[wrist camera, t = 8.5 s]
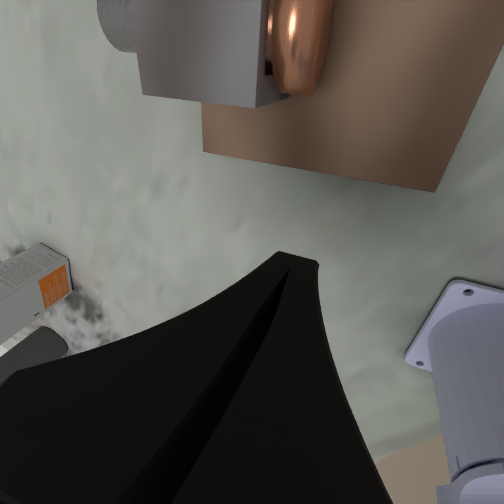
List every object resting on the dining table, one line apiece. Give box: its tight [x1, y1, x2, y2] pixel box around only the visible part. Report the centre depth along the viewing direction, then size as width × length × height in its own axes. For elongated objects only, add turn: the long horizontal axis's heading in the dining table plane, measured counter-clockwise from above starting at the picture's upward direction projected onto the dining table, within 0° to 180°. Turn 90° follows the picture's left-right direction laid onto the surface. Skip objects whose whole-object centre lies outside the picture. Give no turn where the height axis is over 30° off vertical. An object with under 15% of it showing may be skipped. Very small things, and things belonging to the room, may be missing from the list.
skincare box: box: [0, 243, 73, 345], centre depth 29 cm, size 6×4×12 cm
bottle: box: [0, 327, 68, 383], centre depth 40 cm, size 6×6×15 cm
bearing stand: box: [129, 0, 504, 193], centre depth 11 cm, size 13×12×6 cm
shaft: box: [97, 0, 335, 96], centre depth 11 cm, size 9×4×4 cm, turn 87°
